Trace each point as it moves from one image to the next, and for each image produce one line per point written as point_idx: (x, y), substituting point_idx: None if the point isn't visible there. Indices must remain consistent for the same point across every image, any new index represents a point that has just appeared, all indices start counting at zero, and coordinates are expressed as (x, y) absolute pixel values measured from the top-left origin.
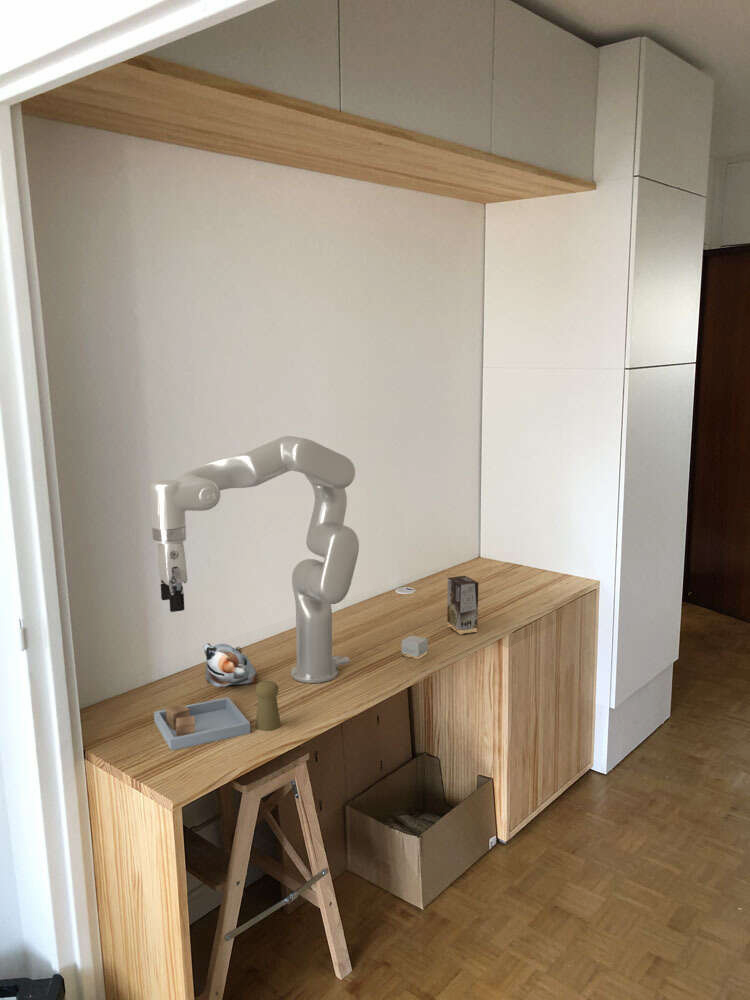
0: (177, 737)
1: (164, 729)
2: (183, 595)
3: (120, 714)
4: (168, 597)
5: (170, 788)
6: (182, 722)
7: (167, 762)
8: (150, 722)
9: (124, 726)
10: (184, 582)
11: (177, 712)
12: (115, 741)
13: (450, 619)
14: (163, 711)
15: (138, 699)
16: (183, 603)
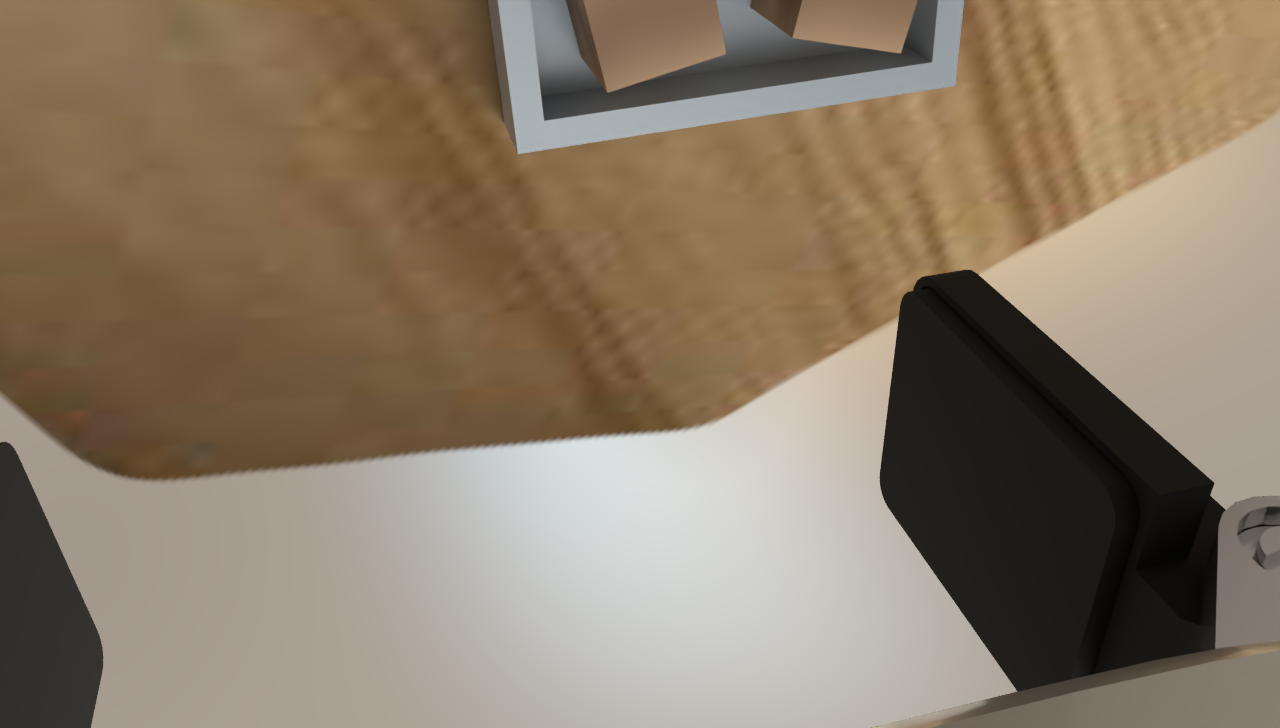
0: (944, 41)
1: (804, 107)
2: (1180, 458)
3: (293, 315)
4: (56, 585)
5: (1217, 99)
6: (878, 6)
7: (995, 90)
8: (474, 146)
9: (479, 291)
10: (1124, 668)
11: (713, 20)
12: (649, 330)
13: None
14: (538, 91)
15: (45, 207)
16: (1037, 346)
